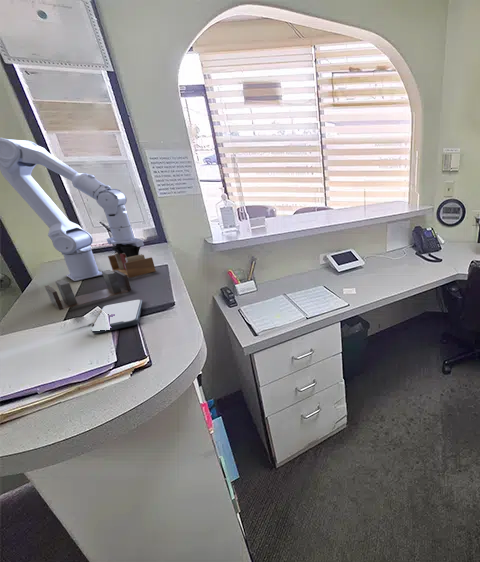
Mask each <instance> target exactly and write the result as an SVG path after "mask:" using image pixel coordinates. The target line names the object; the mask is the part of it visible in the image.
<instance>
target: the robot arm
mask: <svg viewBox="0 0 480 562" xmlns="http://www.w3.org/2000/svg"><path fill="white" fill-rule="evenodd" d="M37 165H40V166H43V167H44V168H46V169H48V170H50V171H52V172H54V173H56V174H58V175H59V176H61V177H63V178H65V179H67V180H69V181H70V182H71V183H72V186H73V188H75V189H76V190H79V191H80V192H82V193H84V194H85V195H87V196H89V197H90V198H92V199H94V200H95V201H96V203H97V205H98V206H100V207H101V208H102V209H103V213H104V214H105V217H106V221H107V223H108V226H109V227H108V228H109V230H110V233H111V237H109V238H106V242H107V244H108V245H114V246H112V247H111V249H112V250H114V252H115V253H118V254H119V255H120V254H122V253H125V255H126V256H127V257H130V256H135V255H138V254H139V255H140V249H141V247H143V246H145V244H144V240H143V239H139V238H137V237H135V235H134V231H133V228H132V224H131V221H130V218H129V215H128V211H127V208H126V204H127V200H128V198H127V196H126V194H125V193H124V192H123V191H122V190H121V189H118V188H112V186H110V185H109V184H105V183H103V182H102V181H100V180H98V178H96V176H95V175H93V174H92V173H87V172H78V171H77V170H76V169H74V168H72V167H71V166H69V165H68V164H67V163H65V162H64V161H62V160H61V159H59V158H58V157H56V156H54V155H53V154H52V153H51V152H49V151H47V149H46V148H45V147H42V146H40V145H38V144H37V143H35V142H33V141H31V140H27V139H22V140H21V139H9V138H4V137H0V173H1V175H2V177H3V178H4V179H5V180H6V181H7V182H8V183H9V184H10V186H11V187H12V188H13V189H14V190H15V192H17V193H18V195H19V196H20V197H21V198H22V199H23V201H24V202H25V203H26V204H28V206H29V208H31V209H32V210H33V212H34V213H35V214H36V215H37V216H38V217H39V218H40V219H41V221H43V223H44V224H45V225H46V226H47V227H48V228H49V230H48V233H47V236H48V238H49V239H50V240H51V242H52V246H53V248H54V249H55V250H56V251H58V253H59V252H60V253H61V255H63V258H64V262H65V264H66V267H67V270H68V272H69V273H68V274H66V277H68V278H69V279H71V280H72V281H73V282H78V281H83V280H86V279H91V278H95V277H101V276H103V274H102V271H101V270H99V268H98V264H97V262H96V259H95V256H94V252H93V250H92V245H93V242H94V239H93V236H92V235H91V233H89V232H88V231H86V230H85V229H83V228H82V227H81V226H80V225H79V224H78V223H75V222H73V221H71V220H70V219H68V217H67V216H66V215H65V214H64V213H63V211H62V210H61V209H60V208H59V207H58V205H56V203H55V202H54V200H52V199H51V197H50V196H49V195H48V194H47V193H46V192H45V190H44V189H43V188H42V187H41V185H40V184H39V183H38V182H37V181H36V180H35V179H34V178H33V176H32V173H33V170H34V169H35V168H36V166H37Z"/></svg>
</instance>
